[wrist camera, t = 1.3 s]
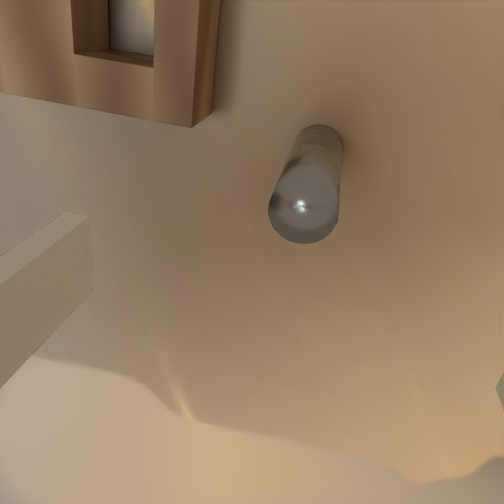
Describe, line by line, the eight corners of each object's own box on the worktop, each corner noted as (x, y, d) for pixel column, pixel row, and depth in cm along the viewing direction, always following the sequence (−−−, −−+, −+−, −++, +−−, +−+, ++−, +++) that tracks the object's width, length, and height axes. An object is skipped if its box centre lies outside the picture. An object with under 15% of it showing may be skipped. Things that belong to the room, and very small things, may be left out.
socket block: (-47, 66, 30) (-100, 73, 26) (-85, -126, 25) (-155, -148, 21) (210, 113, 28) (191, 127, 24) (227, -83, 23) (205, -100, 19)
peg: (289, 167, 28) (263, 235, 20) (298, 121, 27) (274, 172, 18) (336, 176, 28) (329, 249, 19) (347, 129, 27) (345, 186, 18)
